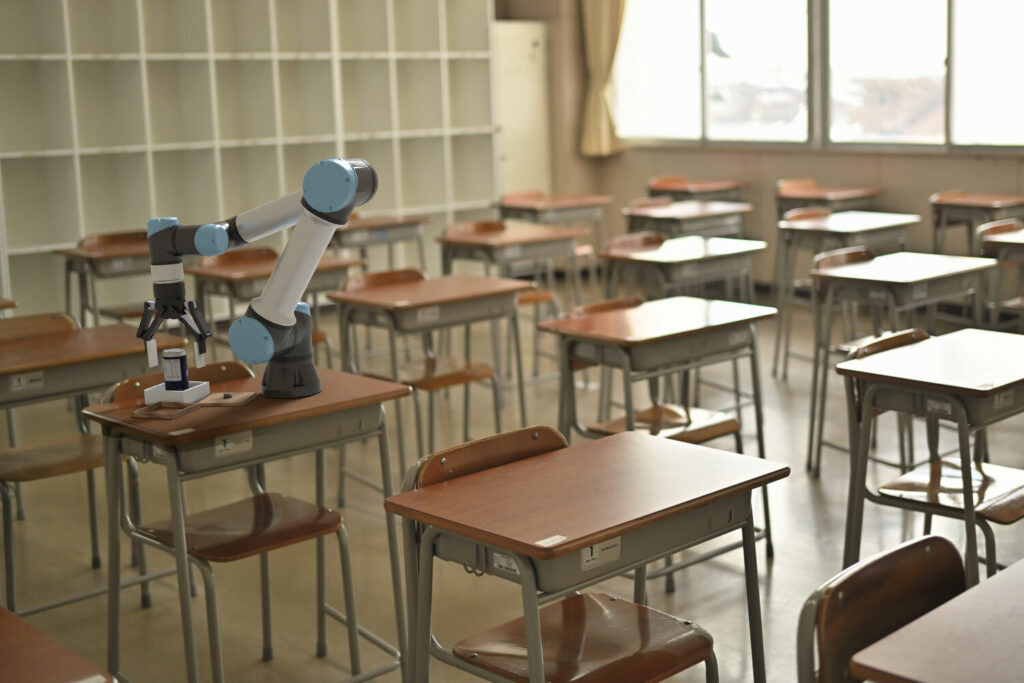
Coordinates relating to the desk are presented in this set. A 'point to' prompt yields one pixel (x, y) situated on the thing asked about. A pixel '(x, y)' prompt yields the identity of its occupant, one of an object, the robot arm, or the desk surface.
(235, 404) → the lid
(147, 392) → the tray
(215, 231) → the robot arm
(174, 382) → the beverage can
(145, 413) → the frame
